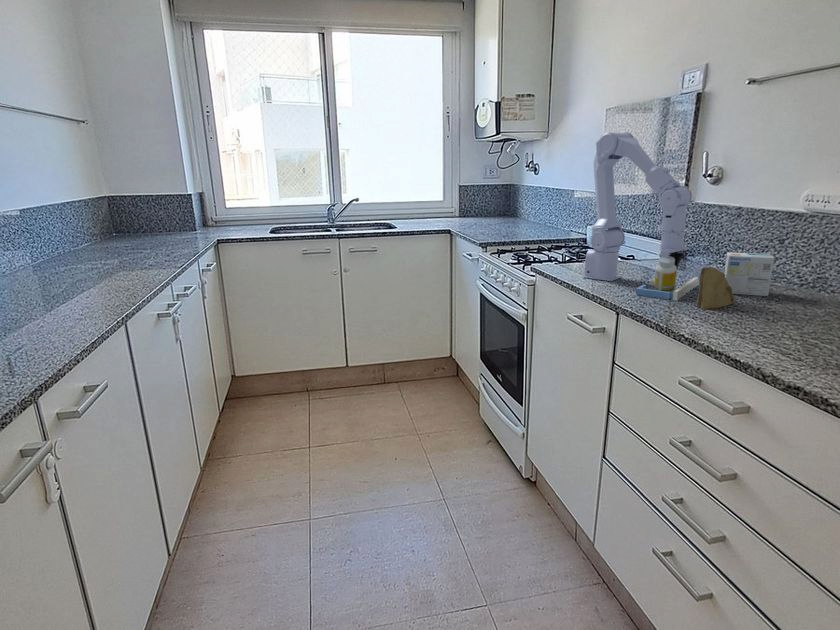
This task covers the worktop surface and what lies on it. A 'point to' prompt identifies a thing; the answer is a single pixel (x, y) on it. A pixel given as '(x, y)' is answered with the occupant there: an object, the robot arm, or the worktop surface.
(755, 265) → the light bulb box
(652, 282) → the channel
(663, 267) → the supplement bottle
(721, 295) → the rock
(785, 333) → the worktop surface
